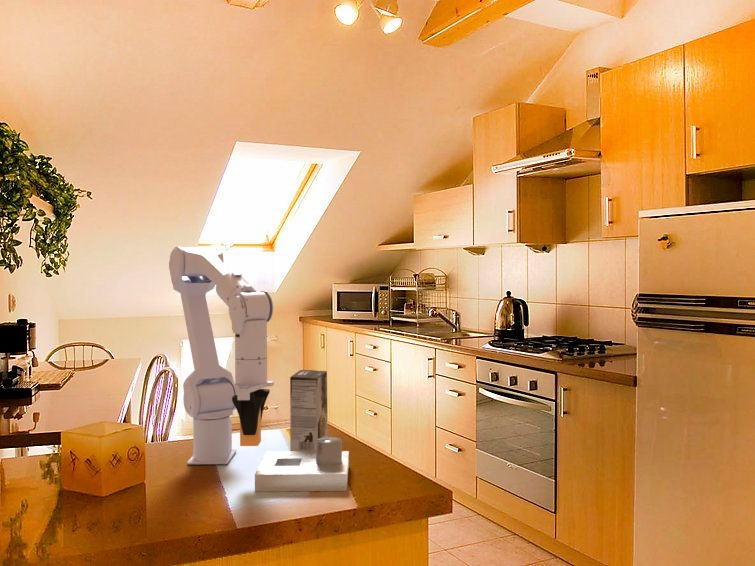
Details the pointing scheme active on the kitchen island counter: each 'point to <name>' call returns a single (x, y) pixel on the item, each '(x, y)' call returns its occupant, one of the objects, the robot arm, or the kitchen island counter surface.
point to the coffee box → (307, 409)
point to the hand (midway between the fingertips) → (251, 432)
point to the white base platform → (305, 469)
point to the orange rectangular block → (251, 439)
